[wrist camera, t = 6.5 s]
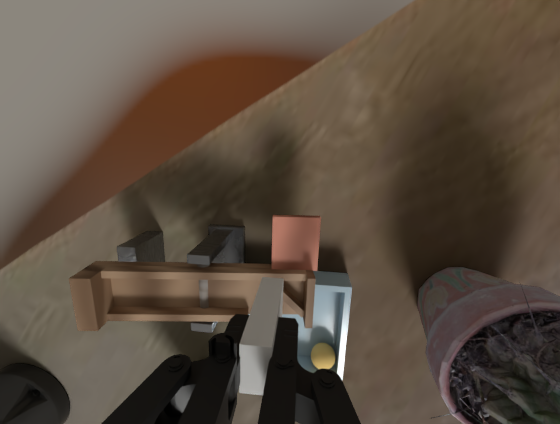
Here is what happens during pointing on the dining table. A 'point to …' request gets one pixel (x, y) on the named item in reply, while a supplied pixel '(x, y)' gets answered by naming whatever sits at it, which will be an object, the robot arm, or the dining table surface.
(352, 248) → the dining table surface
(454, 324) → the potted plant
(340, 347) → the dish
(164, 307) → the brown wooden trough
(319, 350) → the ball
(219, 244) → the fulcrum
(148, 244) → the block
